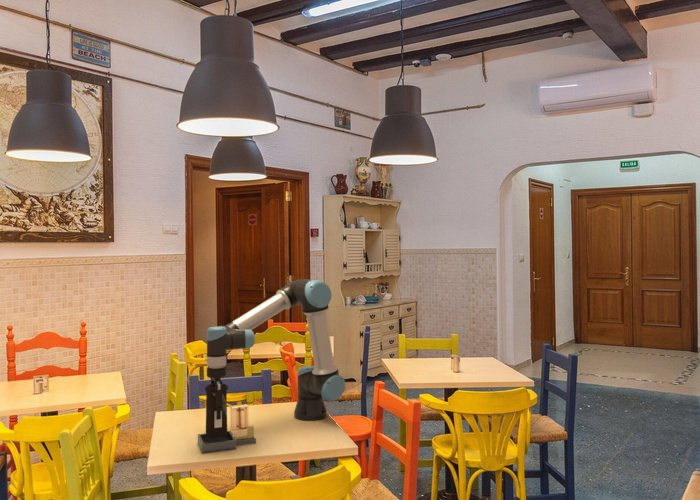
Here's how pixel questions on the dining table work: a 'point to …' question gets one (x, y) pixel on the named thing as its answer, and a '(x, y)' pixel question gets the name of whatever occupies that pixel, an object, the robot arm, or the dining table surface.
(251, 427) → the tan block
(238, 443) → the pin rail
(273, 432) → the dining table surface
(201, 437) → the dock cradle
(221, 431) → the container
